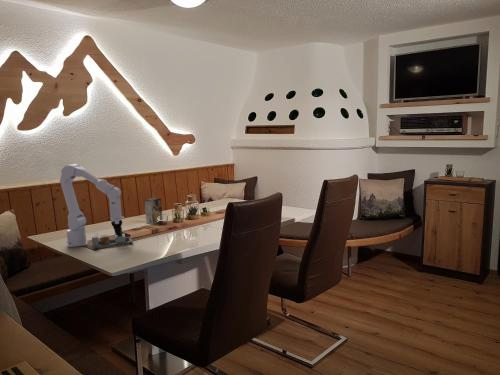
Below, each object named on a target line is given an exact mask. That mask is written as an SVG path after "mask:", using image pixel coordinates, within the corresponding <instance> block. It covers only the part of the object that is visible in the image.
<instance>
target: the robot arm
mask: <svg viewBox="0 0 500 375" xmlns="http://www.w3.org/2000/svg"><path fill="white" fill-rule="evenodd" d="M60 172H61V174H60V179H59V182H60V186H61V190H62V192H63V196H64V200H65V202H66V203H65V204H66V206H67V210H68V215H67V220H68V221H67V227H68V228H69V229H66V241H67V242H66V243H67V247H68V248H74V247H81V246H88V243H89V242H88V240H87V233H86V224H87V218H86V216H85V215H84V212H82V210H80V206H79V203H78V199H77V196H76V193H75V192H76V191H75V190H74V186H73V181H74V180H75V178H77V177H78V178H81V177H82V178H84V179H85V180H87V181H89V182H90V183H92V184H94V185H95V188H96V189H97V190H99V191H100V192H102V193H103V194H105V195H106V197H107V198H108V200H109V213H110V220H111V221H110V224H111V226H112V227H113V230H114V235H115V234H116V235H120V230H121V227H122V225H123V220H124V219H125V216H123V214H122V205H121V204H122V203H121V201H122V200H121V196H122V190H121V188H119V187H117V186H115V185H114V184H111V183H109V182H108V180H106V179H104V178H102V179H99V178H98V177H96V176H95V175H94V174H92V173H91V172H90V171H88V170H87V169H86V168H85V167H83V166H82V165H80V164H79V163H72V164H67V165H65V166H63V167H62V169H61V170H60Z"/></svg>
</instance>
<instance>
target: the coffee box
mask: <svg viewBox="0 0 500 375" xmlns="http://www.w3.org/2000/svg"><path fill="white" fill-rule="evenodd" d="M144 208H145V209H144V210H145V221H146V224H149V225H155V224H157V221H158V220H157V217H158V216H160V220H163V211H162V209H163V207H162V198H160V197H153V198H148V199H144ZM154 223H155V224H154Z"/></svg>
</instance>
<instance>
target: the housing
mask: <svg viewBox="0 0 500 375" xmlns="http://www.w3.org/2000/svg"><path fill="white" fill-rule="evenodd" d="M109 239H110V235H109V234H106V235H105V234H104V235H99V241H100V243H101V244H100V245H104V244H111V242H110V243H109Z"/></svg>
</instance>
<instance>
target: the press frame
mask: <svg viewBox="0 0 500 375" xmlns="http://www.w3.org/2000/svg"><path fill="white" fill-rule="evenodd" d="M125 240H126V242H120V243H116V241H115V238H111V239H110V238H109V242H110V244H104V245H101V244H100V237H99V233H98V232H94V233H92V234H91V242H92V250H95V249H94V248H97V249H105V248H104V247H107V248H112V246H115V247H119V246H120V247H121V246H122V245H123V246H129V245H133V240H132V237H131V236H127V237H126V236H125Z"/></svg>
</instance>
